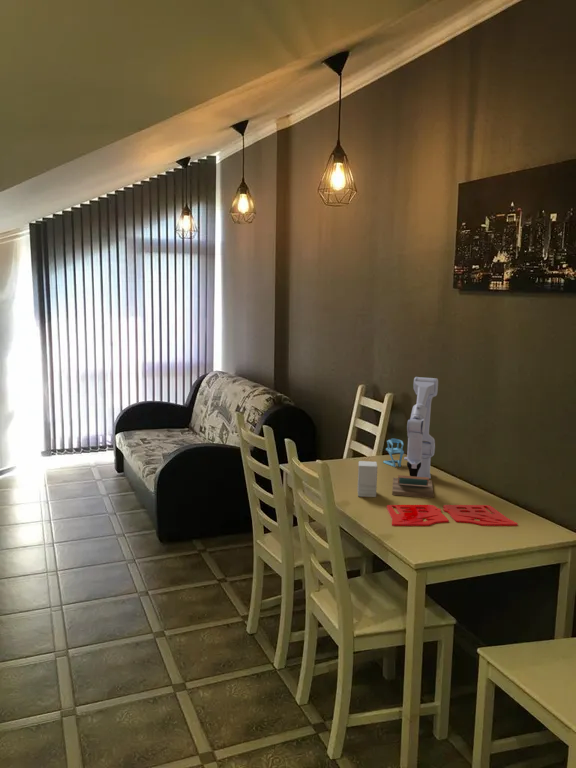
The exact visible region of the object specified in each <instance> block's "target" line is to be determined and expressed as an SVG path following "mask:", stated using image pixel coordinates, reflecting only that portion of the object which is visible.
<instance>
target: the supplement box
mask: <svg viewBox="0 0 576 768" xmlns="http://www.w3.org/2000/svg"><path fill="white" fill-rule="evenodd" d="M357 468H358V471H357V472H358V473H357V475H358V476H357V496H358V497H364V498H365V497H366V498H376V497H377V490H378V489H377V488H378V487H377V483H378V462H377V461H371V460H370V461H366V460H359V461H358V467H357Z"/></svg>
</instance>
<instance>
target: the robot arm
mask: <svg viewBox="0 0 576 768" xmlns="http://www.w3.org/2000/svg"><path fill="white" fill-rule="evenodd" d="M412 385H413V386H412V387H413V390H414V393H415V395H416V402H415V403H416V404H414V405H413V406H412V409H411V413H410V418H409V419H408V420H407V424H406V431H407V432H406V433H407V434H406V435H407V449H406V450H407V453H406V454H407V455H406V456H404V457H403V459H404V461H406V466H407V469H408V472H409V473H408V474H409V476H416V477H429V480H430V479H431V478H432V477H431V462H432V461H431V459H432V457H433V456H435V451H436V440H435V438H434V436H432V435H431V434H430V426H431V425H430V423H431V410H432V401H433V398H434V397H437V395H438V391H439V389H438V388H439V379H438V378H437V377H436V378H435V377H434V378H433V377H421V376H420V377H419V376H415V377H414V378H413V384H412Z"/></svg>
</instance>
